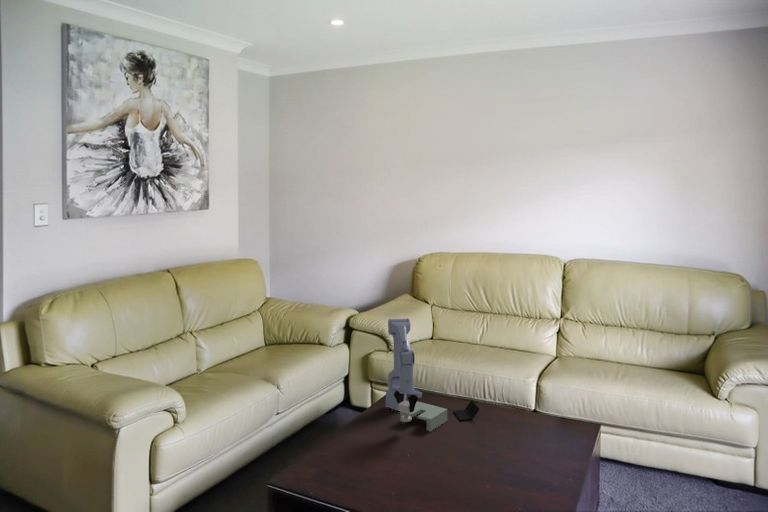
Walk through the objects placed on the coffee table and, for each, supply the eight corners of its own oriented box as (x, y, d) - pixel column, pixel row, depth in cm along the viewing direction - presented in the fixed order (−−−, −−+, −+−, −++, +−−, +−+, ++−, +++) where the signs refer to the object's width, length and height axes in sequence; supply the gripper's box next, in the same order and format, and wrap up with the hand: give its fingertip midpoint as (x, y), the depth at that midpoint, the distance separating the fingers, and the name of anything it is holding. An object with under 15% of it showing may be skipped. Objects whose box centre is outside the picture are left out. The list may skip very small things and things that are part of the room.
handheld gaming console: (449, 409, 267) (462, 392, 266) (459, 416, 270) (472, 399, 269) (459, 422, 256) (473, 404, 256) (470, 429, 259) (484, 412, 259)
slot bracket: (400, 422, 256) (400, 410, 255) (417, 412, 267) (417, 401, 266) (430, 431, 246) (430, 419, 246) (447, 420, 258) (447, 409, 257)
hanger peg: (398, 420, 245) (398, 403, 244) (405, 416, 249) (404, 400, 248) (407, 422, 242) (407, 406, 241) (414, 419, 246) (414, 402, 245)
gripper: (386, 378, 244) (387, 409, 246) (415, 385, 236) (415, 417, 237) (396, 374, 250) (396, 404, 252) (424, 380, 241) (424, 411, 243)
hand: (406, 410), depth 245 cm, fingers closed on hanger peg, 5 cm apart
